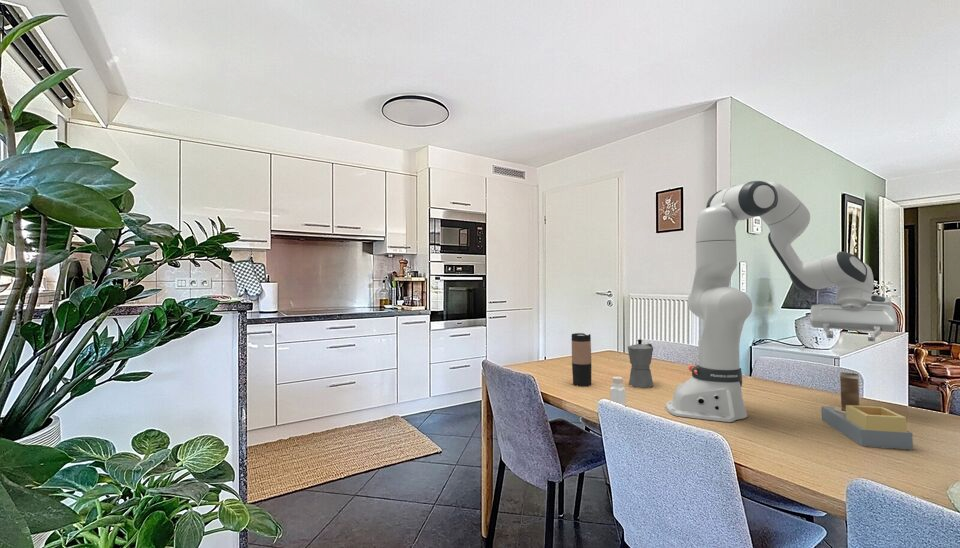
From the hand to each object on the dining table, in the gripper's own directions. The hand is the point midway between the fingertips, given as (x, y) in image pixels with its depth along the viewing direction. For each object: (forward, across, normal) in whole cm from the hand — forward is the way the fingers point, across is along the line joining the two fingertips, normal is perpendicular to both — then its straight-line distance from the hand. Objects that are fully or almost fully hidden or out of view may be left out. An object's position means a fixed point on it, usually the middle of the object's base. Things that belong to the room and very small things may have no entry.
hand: (849, 338), depth 126 cm
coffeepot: (+20, -62, +13) cm, 66 cm away
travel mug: (+31, -80, +3) cm, 86 cm away
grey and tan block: (+28, +4, +4) cm, 29 cm away
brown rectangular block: (+22, +1, +5) cm, 22 cm away
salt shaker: (+44, -54, -10) cm, 70 cm away
